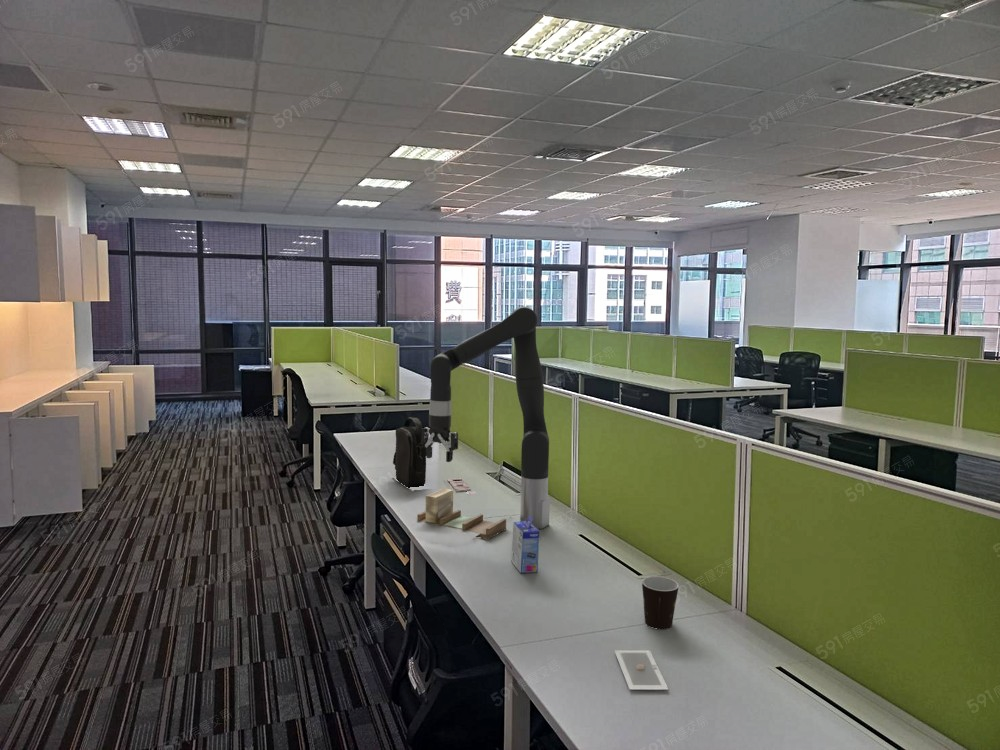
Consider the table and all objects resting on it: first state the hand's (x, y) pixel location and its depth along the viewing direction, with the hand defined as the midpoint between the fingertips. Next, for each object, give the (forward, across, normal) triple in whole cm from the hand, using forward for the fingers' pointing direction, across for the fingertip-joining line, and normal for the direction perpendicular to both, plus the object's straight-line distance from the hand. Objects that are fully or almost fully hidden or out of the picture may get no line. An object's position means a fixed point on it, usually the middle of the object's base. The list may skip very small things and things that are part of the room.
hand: (438, 459), depth 232 cm
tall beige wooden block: (+21, 0, -1) cm, 21 cm away
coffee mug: (+21, -89, +28) cm, 96 cm away
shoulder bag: (+23, +40, -33) cm, 57 cm away
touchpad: (+22, -94, +50) cm, 108 cm away
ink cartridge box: (+22, -45, +16) cm, 52 cm away
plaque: (+23, +19, -39) cm, 49 cm away
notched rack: (+22, -9, -1) cm, 24 cm away
